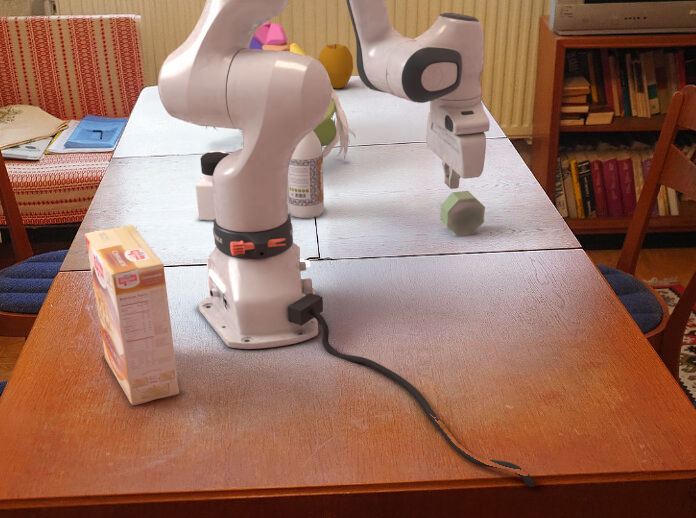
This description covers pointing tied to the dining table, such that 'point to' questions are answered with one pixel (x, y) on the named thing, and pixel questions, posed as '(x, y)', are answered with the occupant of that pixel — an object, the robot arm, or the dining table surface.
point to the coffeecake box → (133, 313)
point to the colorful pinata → (326, 130)
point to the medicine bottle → (207, 185)
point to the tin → (462, 213)
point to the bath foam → (306, 179)
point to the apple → (337, 64)
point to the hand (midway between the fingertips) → (451, 186)
